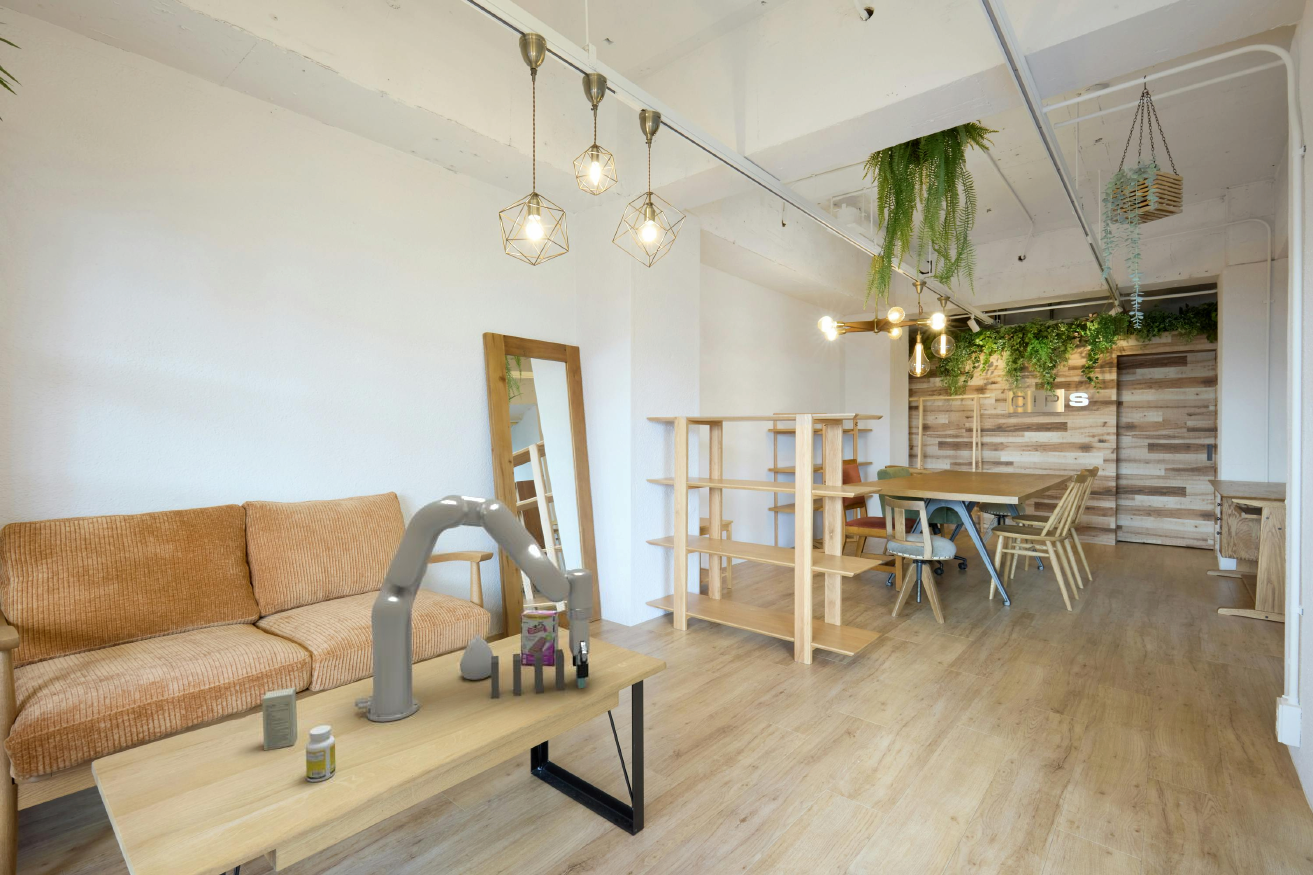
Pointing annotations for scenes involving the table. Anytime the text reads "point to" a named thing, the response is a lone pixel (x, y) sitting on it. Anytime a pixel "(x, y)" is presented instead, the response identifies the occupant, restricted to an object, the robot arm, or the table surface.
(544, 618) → the candy bar box
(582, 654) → the robot arm
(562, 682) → the domino
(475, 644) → the grey teardrop lump
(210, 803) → the table surface
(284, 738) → the skincare box
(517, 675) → the domino
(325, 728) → the supplement bottle
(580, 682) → the domino
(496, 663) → the domino
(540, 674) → the domino
